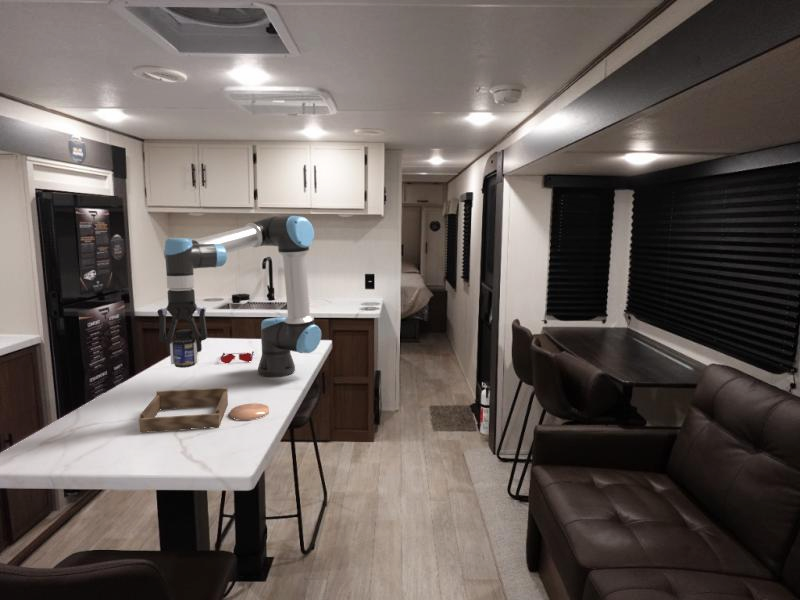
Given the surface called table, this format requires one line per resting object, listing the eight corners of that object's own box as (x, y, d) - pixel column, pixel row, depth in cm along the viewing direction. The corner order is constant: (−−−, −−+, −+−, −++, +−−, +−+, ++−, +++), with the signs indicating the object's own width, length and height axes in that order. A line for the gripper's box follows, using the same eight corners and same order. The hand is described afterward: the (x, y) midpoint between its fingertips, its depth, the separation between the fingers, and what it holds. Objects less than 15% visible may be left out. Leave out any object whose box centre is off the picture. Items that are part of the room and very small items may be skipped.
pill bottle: (187, 368, 148) (185, 333, 147) (170, 367, 150) (167, 332, 148) (199, 363, 154) (198, 329, 153) (182, 362, 156) (180, 328, 154)
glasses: (220, 365, 216) (219, 354, 215) (223, 356, 232) (223, 345, 231) (253, 363, 219) (252, 352, 219) (254, 354, 235) (253, 344, 235)
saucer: (269, 405, 165) (269, 402, 165) (268, 419, 154) (267, 415, 154) (232, 408, 163) (232, 404, 163) (228, 421, 151) (227, 418, 151)
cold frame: (227, 404, 166) (227, 387, 165) (219, 427, 147) (218, 408, 146) (158, 408, 162) (157, 391, 161) (139, 432, 142) (138, 412, 141)
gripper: (215, 287, 154) (219, 357, 158) (150, 288, 150) (155, 360, 154) (212, 289, 147) (215, 364, 150) (143, 291, 143) (148, 367, 146)
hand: (185, 362), depth 152 cm, fingers closed on pill bottle, 6 cm apart
